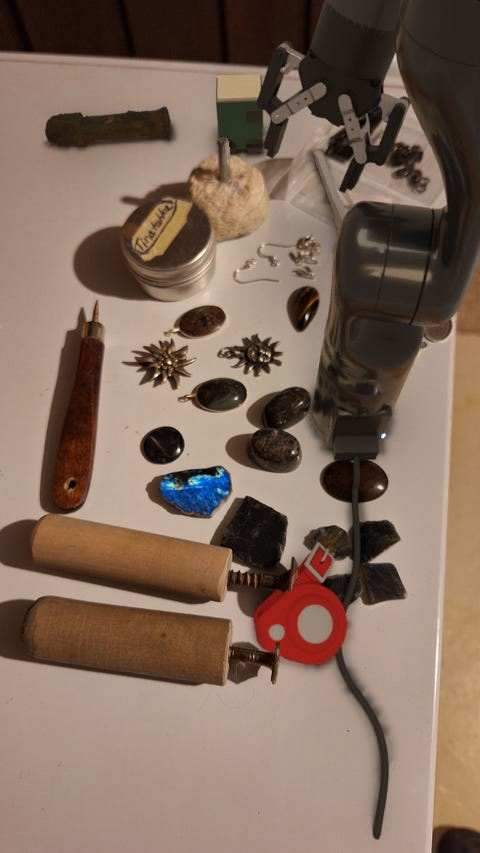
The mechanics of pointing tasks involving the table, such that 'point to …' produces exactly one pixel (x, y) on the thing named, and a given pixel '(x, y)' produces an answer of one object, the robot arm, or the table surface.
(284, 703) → the table surface
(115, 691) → the table surface
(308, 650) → the tracker holder
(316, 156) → the caliper
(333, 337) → the robot arm
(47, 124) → the hand tool
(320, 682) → the table surface
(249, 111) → the camper van
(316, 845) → the table surface
